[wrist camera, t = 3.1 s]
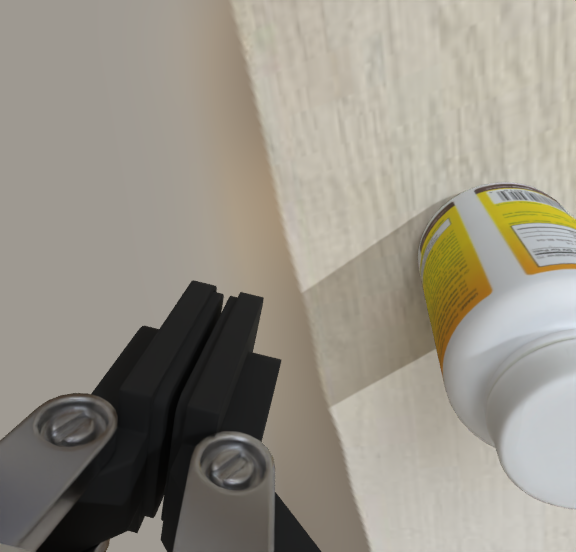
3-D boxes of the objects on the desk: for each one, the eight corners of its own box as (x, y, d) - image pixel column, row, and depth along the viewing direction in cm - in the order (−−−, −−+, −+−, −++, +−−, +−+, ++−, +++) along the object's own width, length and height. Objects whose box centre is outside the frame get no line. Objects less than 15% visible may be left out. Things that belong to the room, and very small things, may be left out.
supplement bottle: (445, 328, 22) (503, 556, 13) (394, 214, 20) (419, 388, 11) (587, 281, 20) (771, 507, 11) (546, 150, 18) (730, 293, 9)
